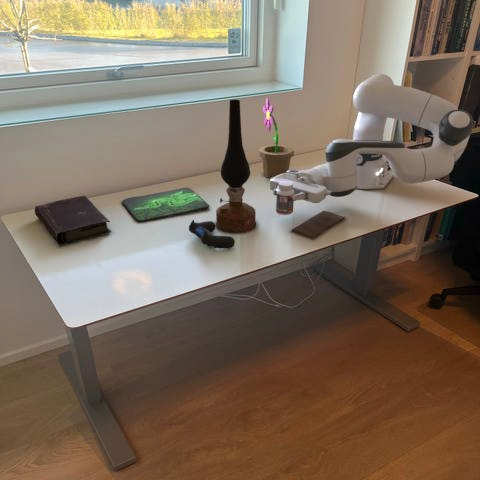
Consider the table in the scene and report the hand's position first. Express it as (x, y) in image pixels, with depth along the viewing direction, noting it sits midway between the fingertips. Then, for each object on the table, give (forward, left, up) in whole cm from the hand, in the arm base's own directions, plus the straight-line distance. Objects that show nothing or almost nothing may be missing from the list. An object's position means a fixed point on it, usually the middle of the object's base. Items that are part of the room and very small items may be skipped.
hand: (283, 195), depth 165 cm
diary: (+45, -53, -10) cm, 71 cm away
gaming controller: (+25, -10, -10) cm, 29 cm away
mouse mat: (+13, -43, -10) cm, 46 cm away
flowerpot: (-39, -31, -10) cm, 51 cm away
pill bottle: (-1, 0, -6) cm, 6 cm away
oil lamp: (+10, -12, -10) cm, 19 cm away
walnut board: (-7, +10, -10) cm, 16 cm away
